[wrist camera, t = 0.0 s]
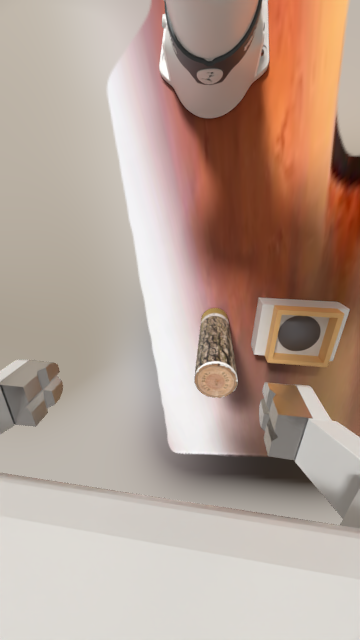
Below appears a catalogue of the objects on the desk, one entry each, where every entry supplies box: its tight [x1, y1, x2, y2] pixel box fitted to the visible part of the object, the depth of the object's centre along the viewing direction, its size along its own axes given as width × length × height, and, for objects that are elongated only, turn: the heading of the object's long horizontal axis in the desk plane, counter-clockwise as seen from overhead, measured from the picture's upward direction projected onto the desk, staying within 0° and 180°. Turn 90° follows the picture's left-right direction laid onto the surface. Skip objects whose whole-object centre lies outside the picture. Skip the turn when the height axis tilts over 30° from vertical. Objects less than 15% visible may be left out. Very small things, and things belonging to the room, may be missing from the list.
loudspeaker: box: [251, 297, 350, 367], centre depth 53 cm, size 13×18×8 cm
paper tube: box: [195, 308, 238, 398], centre depth 48 cm, size 7×7×25 cm
